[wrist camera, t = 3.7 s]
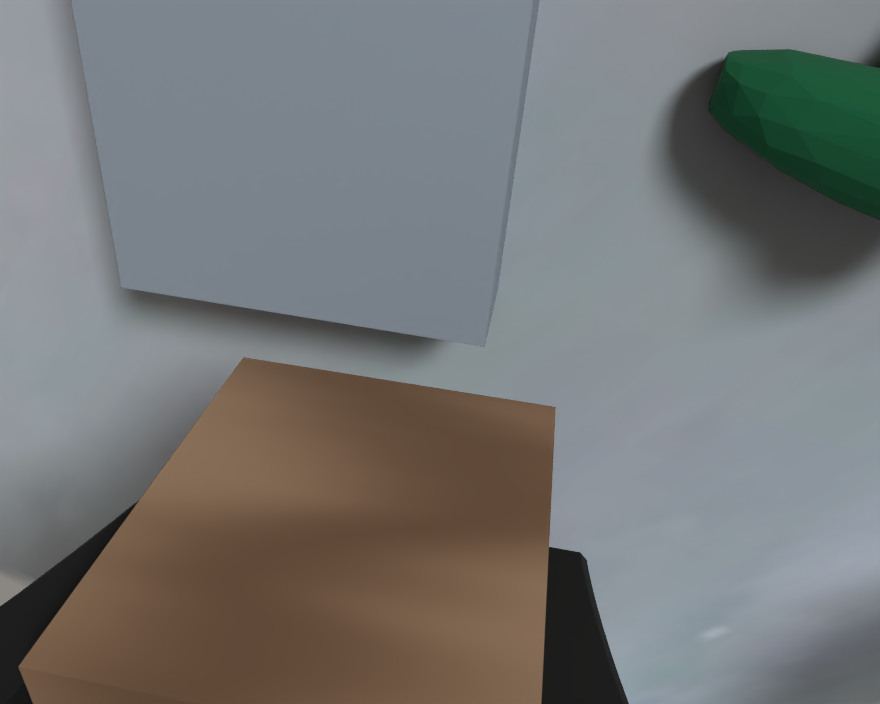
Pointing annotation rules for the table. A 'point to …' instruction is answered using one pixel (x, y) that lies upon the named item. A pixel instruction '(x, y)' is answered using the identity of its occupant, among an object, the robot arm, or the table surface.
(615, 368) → the table surface
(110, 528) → the robot arm
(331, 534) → the walnut block
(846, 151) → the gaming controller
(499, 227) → the slate block
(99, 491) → the table surface
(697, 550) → the table surface
